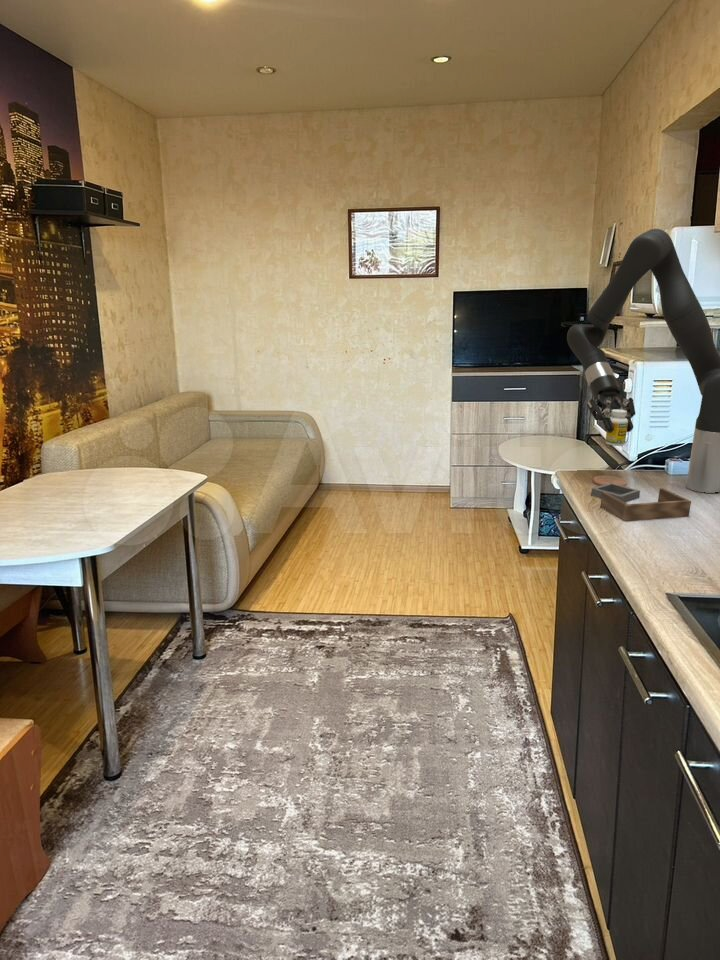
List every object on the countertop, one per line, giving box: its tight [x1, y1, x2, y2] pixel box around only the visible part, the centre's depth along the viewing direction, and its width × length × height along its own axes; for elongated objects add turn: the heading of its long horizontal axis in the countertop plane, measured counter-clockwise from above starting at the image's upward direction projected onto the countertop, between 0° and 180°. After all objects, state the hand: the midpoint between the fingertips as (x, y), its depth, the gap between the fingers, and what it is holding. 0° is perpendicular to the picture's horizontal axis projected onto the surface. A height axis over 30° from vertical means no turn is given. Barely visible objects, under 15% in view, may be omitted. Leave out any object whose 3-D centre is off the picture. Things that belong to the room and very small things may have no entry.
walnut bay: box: [599, 487, 692, 522], centre depth 173 cm, size 18×11×4 cm, turn 103°
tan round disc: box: [593, 475, 628, 487], centre depth 197 cm, size 9×9×1 cm
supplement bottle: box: [605, 409, 628, 447], centre depth 191 cm, size 5×5×10 cm
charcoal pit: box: [590, 483, 641, 503], centre depth 185 cm, size 9×9×2 cm
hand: (620, 430), depth 190 cm, fingers closed on supplement bottle, 5 cm apart
